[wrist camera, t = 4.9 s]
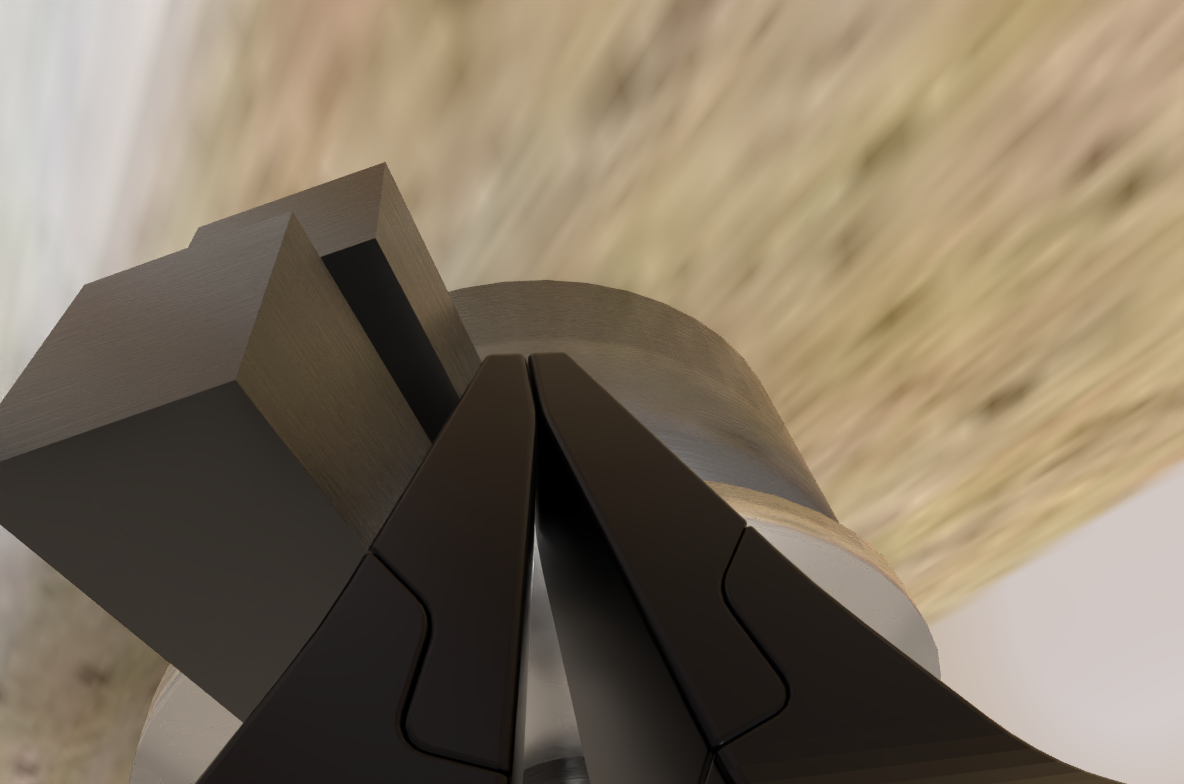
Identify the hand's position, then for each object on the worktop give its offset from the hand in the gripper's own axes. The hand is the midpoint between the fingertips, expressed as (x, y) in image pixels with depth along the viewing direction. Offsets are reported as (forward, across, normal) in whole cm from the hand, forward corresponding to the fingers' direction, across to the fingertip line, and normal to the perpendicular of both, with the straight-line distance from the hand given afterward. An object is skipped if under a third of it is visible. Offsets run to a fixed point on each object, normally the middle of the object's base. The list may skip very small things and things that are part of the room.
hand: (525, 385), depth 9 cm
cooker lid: (+2, 0, +9) cm, 9 cm away
